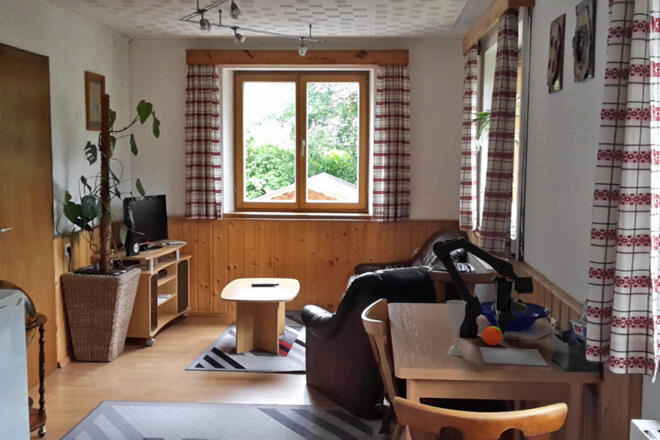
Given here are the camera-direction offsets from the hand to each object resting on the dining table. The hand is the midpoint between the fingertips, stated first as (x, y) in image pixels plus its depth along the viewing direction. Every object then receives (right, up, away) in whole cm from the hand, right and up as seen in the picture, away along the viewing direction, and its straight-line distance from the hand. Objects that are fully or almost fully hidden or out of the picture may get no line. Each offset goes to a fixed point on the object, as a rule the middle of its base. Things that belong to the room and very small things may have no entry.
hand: (502, 334), depth 244 cm
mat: (-3, -4, -24) cm, 24 cm away
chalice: (-22, -3, -20) cm, 30 cm away
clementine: (-6, -3, -10) cm, 12 cm away
